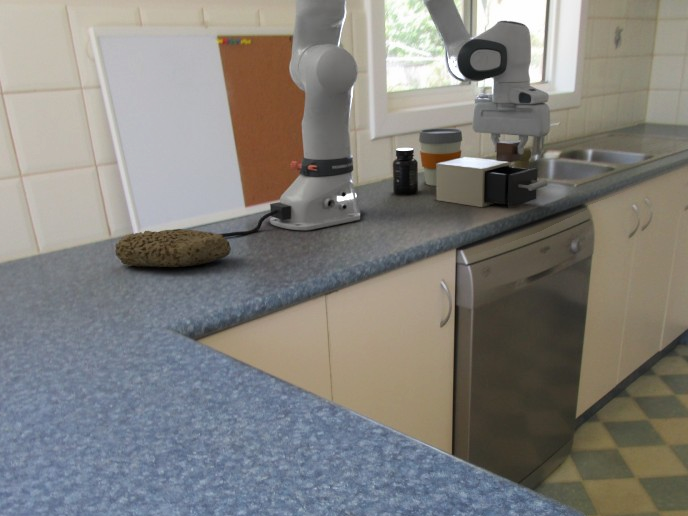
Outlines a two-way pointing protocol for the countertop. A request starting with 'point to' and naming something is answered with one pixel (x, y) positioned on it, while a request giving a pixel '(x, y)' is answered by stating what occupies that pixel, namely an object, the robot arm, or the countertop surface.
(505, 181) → the drawer
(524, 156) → the cork
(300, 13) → the robot arm
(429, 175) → the reusable coffee cup
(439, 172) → the cabinet
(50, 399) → the countertop surface
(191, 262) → the sponge
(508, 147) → the block
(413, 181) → the supplement bottle
